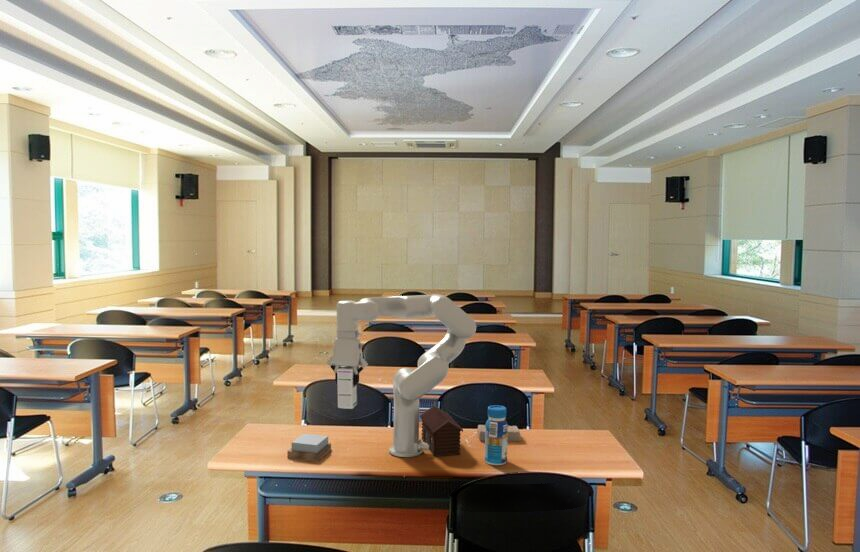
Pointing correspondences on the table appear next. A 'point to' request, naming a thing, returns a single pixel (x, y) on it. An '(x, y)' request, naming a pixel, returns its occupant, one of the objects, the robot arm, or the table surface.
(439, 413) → the model building
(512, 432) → the brick
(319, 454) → the tower base
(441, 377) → the robot arm
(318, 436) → the tower top
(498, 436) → the beverage bottle
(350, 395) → the syrup box
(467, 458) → the table surface
